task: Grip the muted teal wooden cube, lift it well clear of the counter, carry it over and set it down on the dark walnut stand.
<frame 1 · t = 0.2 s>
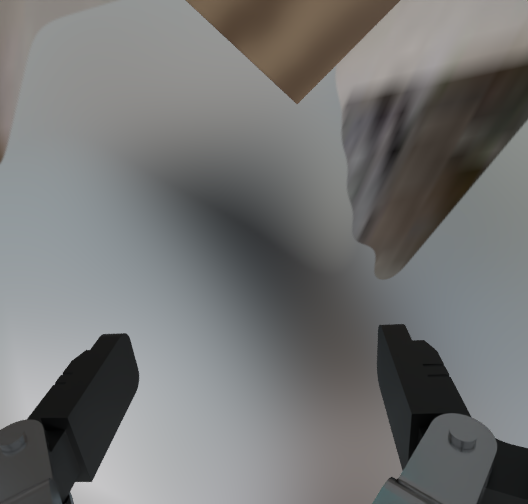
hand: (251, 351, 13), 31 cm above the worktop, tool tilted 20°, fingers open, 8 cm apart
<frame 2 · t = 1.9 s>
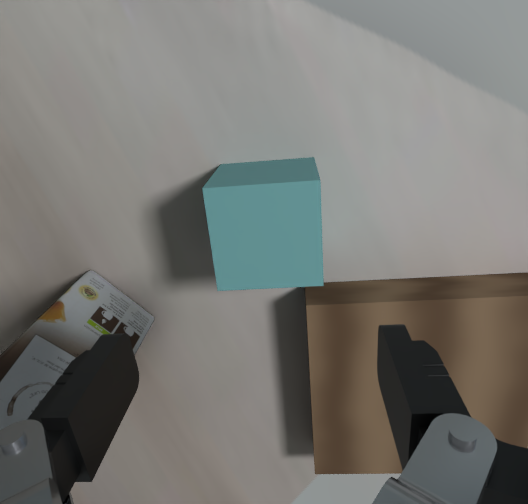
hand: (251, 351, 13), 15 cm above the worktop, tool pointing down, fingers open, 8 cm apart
teal cube: (270, 205, 27), on the worktop
coffee box: (92, 325, 32), on the worktop
walnut stand: (411, 368, 32), on the worktop
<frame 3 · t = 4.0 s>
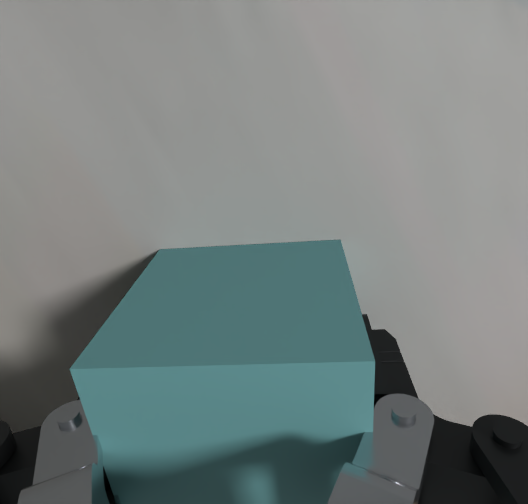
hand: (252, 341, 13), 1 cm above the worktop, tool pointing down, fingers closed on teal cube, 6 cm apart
teal cube: (256, 321, 14), on the worktop, touching gripper
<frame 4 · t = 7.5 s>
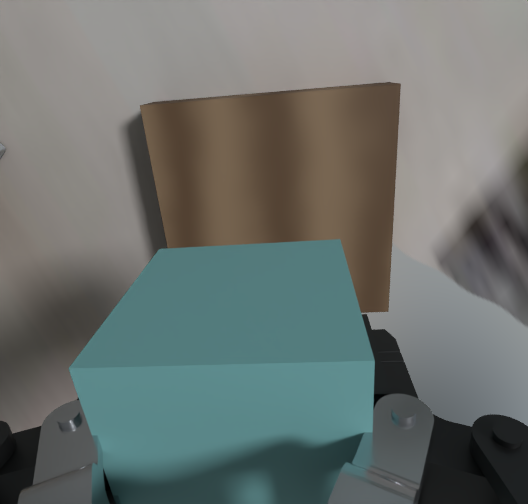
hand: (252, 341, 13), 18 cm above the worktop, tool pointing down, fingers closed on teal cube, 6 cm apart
teal cube: (256, 321, 14), point 17 cm above the worktop, touching gripper
walnut stand: (276, 205, 31), on the worktop
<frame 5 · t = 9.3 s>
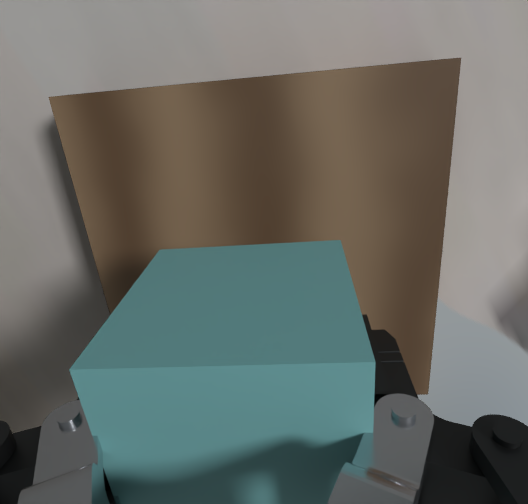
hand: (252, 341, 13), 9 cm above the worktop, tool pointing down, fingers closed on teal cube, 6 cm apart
teal cube: (256, 321, 14), point 8 cm above the worktop, touching gripper
walnut stand: (266, 240, 21), on the worktop
when the fingers open (5 cm above the worktop, at t = 10.9 s): teal cube drops 1 cm, resting on walnut stand.
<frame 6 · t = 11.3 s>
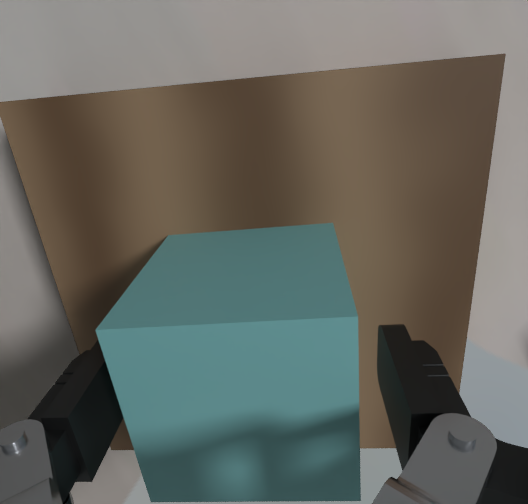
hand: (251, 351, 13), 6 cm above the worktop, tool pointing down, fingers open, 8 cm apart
teal cube: (258, 300, 16), point 3 cm above the worktop, touching walnut stand
walnut stand: (264, 267, 18), on the worktop
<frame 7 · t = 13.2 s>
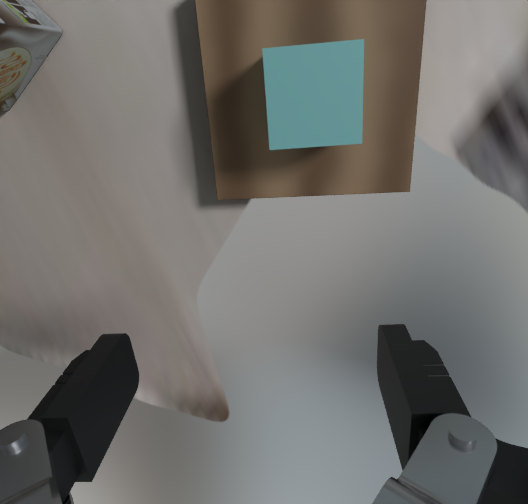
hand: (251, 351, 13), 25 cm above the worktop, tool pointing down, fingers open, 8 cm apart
teal cube: (309, 93, 30), point 3 cm above the worktop, touching walnut stand
coffee box: (5, 46, 33), on the worktop
walnut stand: (308, 91, 33), on the worktop
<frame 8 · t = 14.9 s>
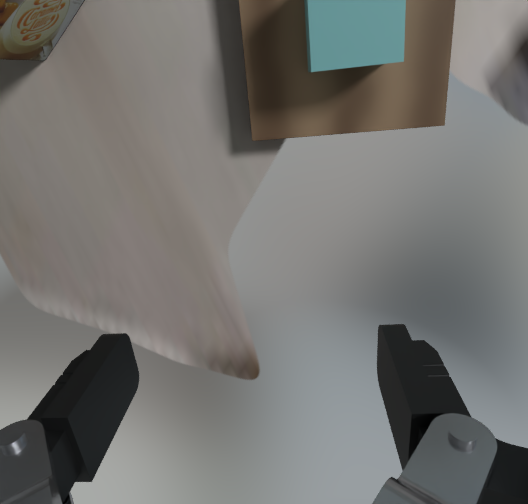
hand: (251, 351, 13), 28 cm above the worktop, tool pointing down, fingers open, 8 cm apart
teal cube: (345, 25, 31), point 3 cm above the worktop, touching walnut stand
walnut stand: (341, 29, 34), on the worktop
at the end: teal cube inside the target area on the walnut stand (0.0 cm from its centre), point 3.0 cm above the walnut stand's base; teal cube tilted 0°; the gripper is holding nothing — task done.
